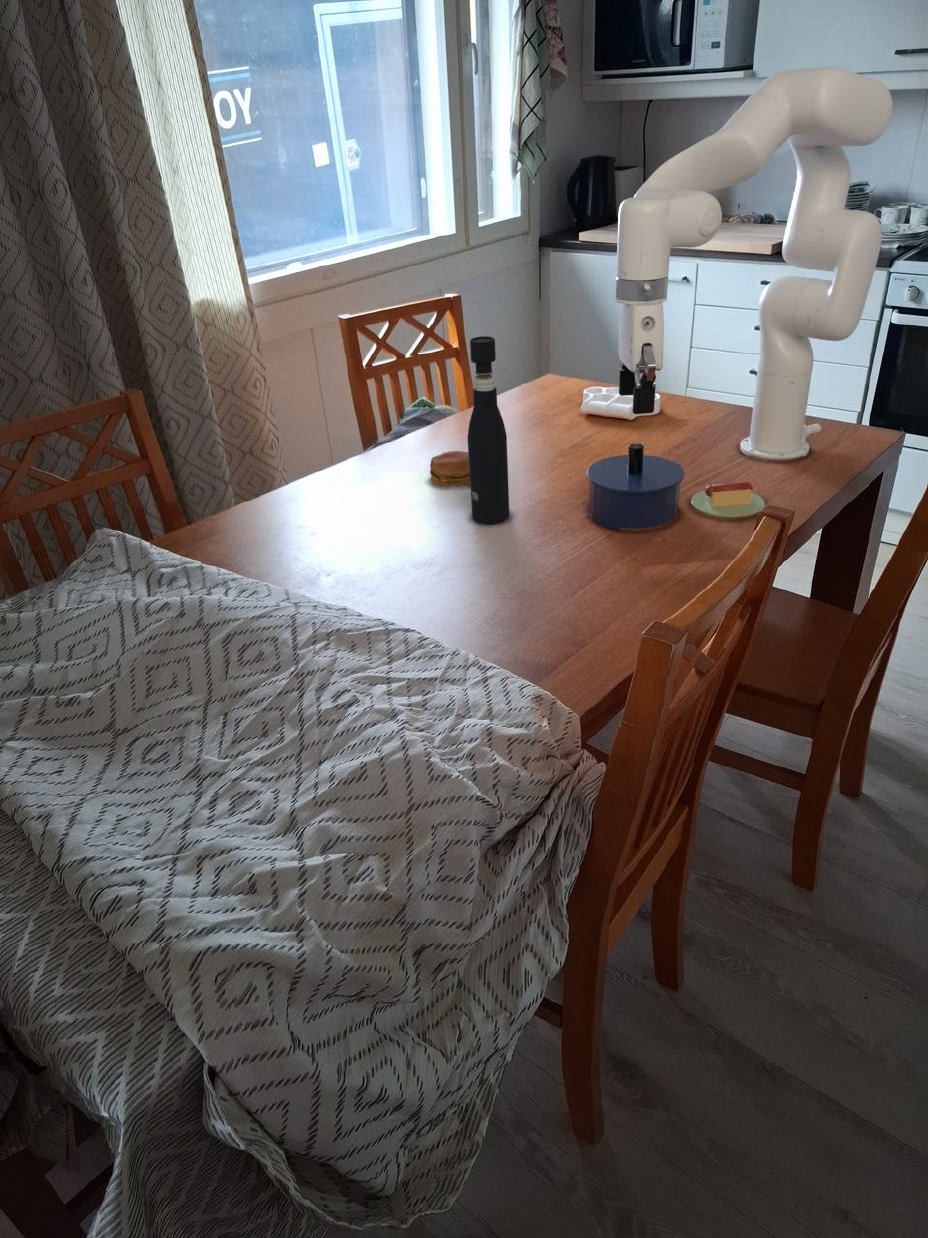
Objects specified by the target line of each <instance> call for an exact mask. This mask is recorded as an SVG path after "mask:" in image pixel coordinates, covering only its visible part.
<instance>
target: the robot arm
mask: <svg viewBox="0 0 928 1238" xmlns="http://www.w3.org/2000/svg"><path fill="white" fill-rule="evenodd" d="M893 107H894V105H893V97H892V94H891V92H890V90H889V88H888V87H887V86H886V85H885V84H884V83H883V82H882V81H879V80H877V79H873V78H871V77H869V76H865V75H862V74H859V73H857V72H853V71H851V70H848V69H845V68H840V67H835V66H822V67H811V68H810V67H809V68H796V69H795V68H793V69H785V70H781V71H777V72H775V73H773V74H771V75H769V76H768V77H767V78H765V79H764V80H763V81H762V83H761V84H760V85H759V86H758V87H757V88H756V89H755V90H754V91H753V93H752V94H751V95H750V96H749V97H748V98H747V99H746V100H745V102H744V103H743V104H742V105H741V106H740V107H739V108H737V111H736V112H735V113H733V114H732V116H731V117H730V118H729V119H728V120H727V121H726V122H725V124H724V125H723V126H722V127H721V128H720V129H719V130H718V131H716V132H715V133H713V134H710V135H709V136H707V137H706V138H703V139H701V140H700V141H698V142H697V143H694V144H693V145H691V146H690V147H688V148H686V149H684V150H682V151H681V152H678V154H676V155H674V156H672V157H671V158H669V159H668V160H666V161H664V163H663V164H661V165H660V166H658V167H657V168H656V170H655V171H654V172H653V173H652V174H651V175H650V176H649V177H648V178H647V179H646V181H645V182H644V183H642V185H641V186H640V187H639V189H638V190H637V191H636V193H635V194H634V196H633V197H632V196H631V197H628V198H626V199H624V200H623V201H622V202H621V203H620V205H619V208H618V217H617V218H618V219H617V220H618V221H617V249H616V270H615V271H616V273H615V274H616V275H615V299H614V300H615V302H616V303H619V304H620V317H619V327H618V356H619V359H620V362H619V376H618V377H619V378H618V379H619V380H618V387H619V394H620V396H626V395H633V413H634V414H646V413H653V412H654V403H655V393H656V388H657V387H656V385H657V382H656V381H657V380H656V379H657V374H656V371H657V372H660V371H661V370H662V369H663V367H664V341H665V340H664V339H665V337H664V336H665V333H664V331H665V329H664V328H665V327H664V325H665V323H664V317H665V316H664V302H666V301H667V300H668V288H669V287H668V285H669V273H670V272H669V271H670V257H671V249H673V248H688V249H689V248H697V247H700V246H703V245H705V244H707V243H708V242H710V241H711V240H712V239H713V238H714V237H715V236H716V234H717V233H718V232H719V230H720V227H721V224H722V220H723V212H722V207H721V205H720V202H719V200H718V199H717V198H716V197H715V196H714V195H713V194H710V193H709V192H714V191H717V190H721V189H725V188H728V187H731V186H734V185H737V184H740V183H743V182H745V181H748V180H750V179H752V178H754V177H755V176H756V175H757V174H759V172H760V171H761V170H762V169H763V168H764V167H765V166H766V164H767V163H768V162H769V161H770V160H771V158H773V156H774V155H775V154H776V153H777V152H778V150H780V148H781V147H782V146H783V145H784V144H785V143H786V142H788V144H789V146H790V149H791V151H792V154H793V157H794V161H795V164H796V166H795V167H796V182H795V188H794V193H793V197H792V201H791V206H790V210H789V214H788V218H787V222H786V226H785V231H784V234H783V235H784V236H783V240H782V247H781V248H782V249H781V254H782V258H783V260H784V262H785V263H787V264H788V265H789V266H792V267H795V268H800V269H806V270H815V271H822V272H823V271H825V272H833V276H832V280H831V279H822V278H816V277H806V276H797V275H795V276H794V275H787V276H781V277H777V278H776V279H773V280H772V281H770V282H769V283H767V284H766V286H765V287H764V289H762V290H763V291H762V292H761V295H760V298H759V301H758V302H759V303H758V323H759V352H758V361H757V371H756V378H755V388H754V395H753V405H752V415H751V422H750V430H749V436H747V437H745V438H743V439H742V440H741V441H740V444H739V445H740V446H739V450H740V451H741V452H742V454H744V455H745V456H752V457H756V458H759V459H760V458H761V459H766V460H791V459H797V458H800V457H803V458H804V457H806V456H807V455H808V454H809V452H810V444H809V443H808V442H807V441H806V439H807V438H809V436H813V435H817V434H820V433H821V431H822V426H821V425H820V424H819V423H813V424H809V425H806V423H805V421H806V414H807V408H808V400H809V395H810V387H811V381H812V374H813V370H814V369H813V368H814V359H815V357H814V350H813V347H812V343H811V341H810V339H814V340H822V341H829V342H840V341H844V340H846V339H848V338H849V337H850V336H852V335H853V334H854V332H855V331H856V329H857V327H858V325H859V324H860V321H861V319H862V316H863V312H864V310H865V306H866V302H867V299H868V295H869V292H870V288H871V284H872V281H873V277H874V275H875V274H874V273H875V270H876V267H877V263H878V260H879V255H880V251H881V248H882V240H883V239H882V238H883V236H882V235H883V233H882V226H881V222H880V220H879V218H878V217H877V216H876V215H875V214H874V213H872V212H869V211H866V210H858V209H846V203H847V199H848V194H849V189H850V186H851V179H852V172H851V166H850V162H849V160H848V157H847V154H846V153H845V151H844V149H843V147H865V146H868V145H871V144H873V143H875V142H876V141H877V140H879V139H880V138H881V137H882V136H883V134H884V133H885V132H886V130H887V129H888V127H889V124H890V122H891V119H892V115H893V110H894V109H893Z"/></svg>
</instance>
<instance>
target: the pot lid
mask: <svg viewBox="0 0 928 1238" xmlns="http://www.w3.org/2000/svg"><path fill="white" fill-rule="evenodd" d="M644 448H645V446H644V444H642V443H636V442H635V443H630V444H629V445H628V452H627V453H628V454H622V455H621V454H620V455H615V456H610V457H609V456H608V457H606V458H602V459H599V460H597V461H595V462H594V463H592V464H591V465H589V466H588V468H587V470H586V478H587V480H588V481H589V483H590V482H591V483H592V484H594V485H595V486H597V487H600V488H602V489H605V490H609V491H613V492H619V493H631V494H641V493H653V492H659V491H663V490H667V489H670V488H672V487H674V486H676V485H678V484H679V483H680V484H681V483H682V482H683V480H684V478H685V470H684V468H683V467H682V466H681V465H680V464H679V463H677V462H675V461H673V460H670V459H667V458H664V457H660V456H655V455H649V454H648V455H646V454H644Z"/></svg>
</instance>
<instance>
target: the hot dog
mask: <svg viewBox="0 0 928 1238" xmlns="http://www.w3.org/2000/svg"><path fill="white" fill-rule="evenodd" d="M753 489H754V486H753V484H752V483H751V482H748V481H746V482H731V483H730V482H729V483H718V484H709V485H707V486H705V489H704V490H705V493H706V497H705V499H706V500H707V502H708V503H709V504H710V506H711V507H723V506H735V505H747V504H751V495H752V493H753Z"/></svg>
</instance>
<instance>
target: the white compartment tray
mask: <svg viewBox="0 0 928 1238" xmlns="http://www.w3.org/2000/svg"><path fill="white" fill-rule="evenodd" d="M582 394H583V399H582V400H583V401H582V403H581V405H580V406H579V412H580V413H581V414H583V415H593V416H600V417H605V418H616V419H623V420H627V421H633V420H634V419H635V418H637V417H641V416H643V417H645V416H646V417H647V416H654V415H657V414H659V413H660V412H661V399H662V397H661V395H660V394H659V393H657V392H655V403H654V412H653V413H646V414H634V413H633V395H626V396H620V394H619V386H612V387H609V386H608V387H604V386H603V387H602V386H590V387H587V388H585V389H584V390H583V393H582Z"/></svg>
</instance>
